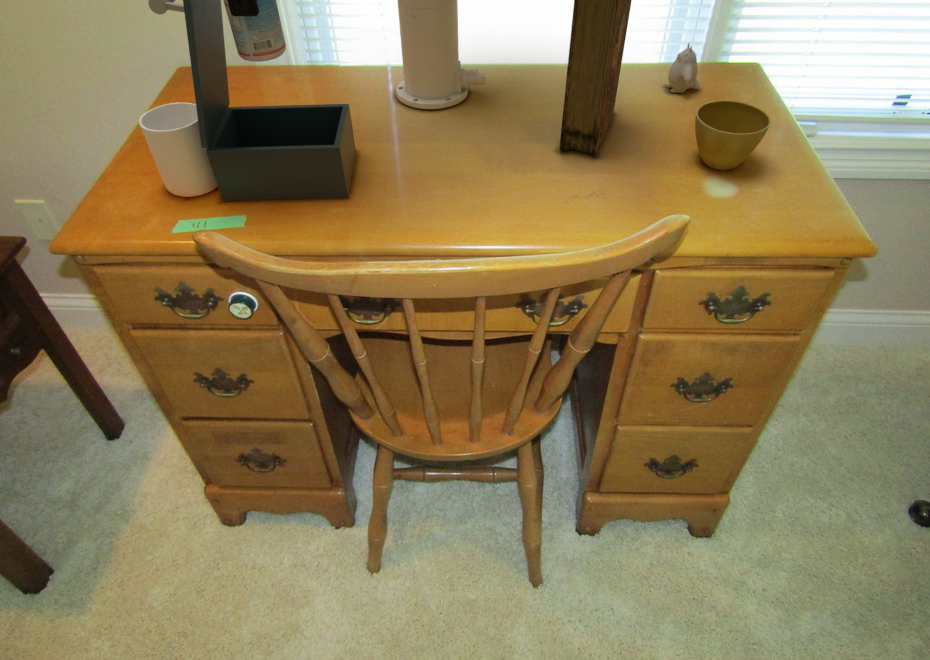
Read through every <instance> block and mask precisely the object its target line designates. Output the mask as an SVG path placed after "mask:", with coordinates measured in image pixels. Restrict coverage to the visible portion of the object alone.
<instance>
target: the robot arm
mask: <svg viewBox="0 0 930 660" xmlns="http://www.w3.org/2000/svg"><path fill="white" fill-rule="evenodd" d="M227 1H228V5H229V9H230V12H231V15H232V16H257V15H258V14H259V8H258V4H257V0H227ZM458 5H459V4H458V0H397V10H398V11H397V12H398V21H399V33H400V34H399V35H400V47H401V58H402V69H403V79H402V80H401V81H399V83H398V84H397V85H396V88H395V93H396V98H397V99H398V101H400V102H401V103H402V104H404V105H406V106H408V107H410V108H415V109H419V110H440V109H441V110H442V109H445V108H450V107H453V106H456V105H458V104H460V103H462V102H463V101H464V100H465V99H466V98H467V96H468V94H469V86H475V87H476V86H477V87H479V86H486V73H479V71H478V70H479V69H478V68H475V69H474V68H472V69H471V68H470V69H465V67H461V66H462V65H461V60H459V59H460V58H459V55H460V54H459V20H458V19H459V14H458V13H459V12H458V10H459V8H458Z"/></svg>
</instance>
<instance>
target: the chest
mask: <svg viewBox="0 0 930 660" xmlns="http://www.w3.org/2000/svg"><path fill="white" fill-rule="evenodd" d="M206 153H207V156H208V159H209V162H210V165H211V168H212V171H213V174H214V177H215V180H216V183H217V186H218V187H217V188H218V192H219V194H220V198H221V201H222V202H244V201H279V200H310V199H311V200H313V199H346V198H347V199H348V198H349V194H350V188H351V183H352V177H353V173H354V172H353V171H354V166H355V160H356V155H357V149H356V143H355V136H354V130H353V123H352V116H351V109H350V103H327V104H326V103H325V104H292V105H291V104H289V105H255V106H254V105H253V106H252V105H251V106H249V105H248V106H229V107H228V109H227V111H226V113H225V115H224V117H223V119H222V121H221V123H220V125H219V127H218V129H217V131H216V133H215V135H214V137H213V139H212V141H211V143H210V145H209V147H208V148H207V150H206Z"/></svg>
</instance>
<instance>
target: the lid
mask: <svg viewBox="0 0 930 660" xmlns="http://www.w3.org/2000/svg"><path fill="white" fill-rule="evenodd" d="M148 7H149V9H150V10H151V11H152V12H153V13H154V14H156V15H164V14H166V12H167V11H173V12H178V13H184V20H185V27H186V37H187V44H188V45H187V46H188V53H189V59H190V68H191V75H192V83H193V92H194V99H195V104H196V108H197V116H198V124H199V132H200V140H201V147H202V148H208V147H209V145H210V143H211V141H212V139H213V137H214V135H215V133H216V131H217V129H218V127H219V125H220V123H221V121H222V119H223V117H224V115H225V113H226V111H227V109H228V107H230V105H231V103H230V101H231V100H230V92H229V91H230V90H229V80H228V68H227V67H228V66H227V58H226V57H227V56H226V45H225V33H224V22H223V10H222V0H182V3H178V2H176V0H148Z"/></svg>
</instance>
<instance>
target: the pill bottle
mask: <svg viewBox="0 0 930 660" xmlns="http://www.w3.org/2000/svg"><path fill="white" fill-rule="evenodd" d="M222 2H223V5H224V8H225V12H226V15H227V20H228V23H229V26H230V30H231V33H232V37H233V40H234V45H235V48H236V51H237V54H238V56H239V57H240V59H242V60H244V61H248V62H257V63H259V62H268V61H271V60H276V59H278V58H280V57H281V56H283V54H284V53H285V51H286V49H287V44H286V40H285V35H284V30H283V26H282V21H281V16H280V13H279V9H278V3H277V0H257V4H258V8H259V14H258V15H257V16H232V15H231V12H230V9H229V5H228V1H227V0H223V1H222Z"/></svg>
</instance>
